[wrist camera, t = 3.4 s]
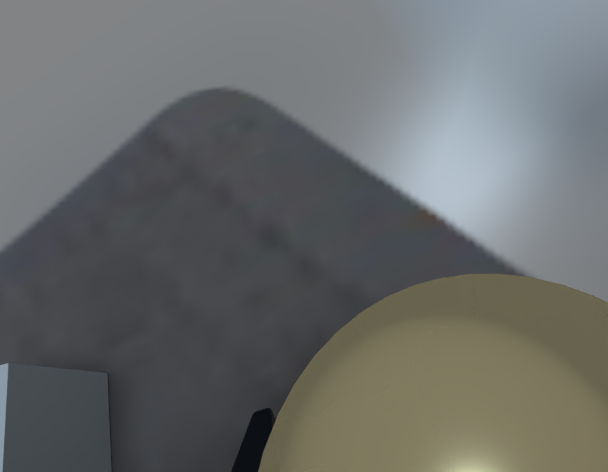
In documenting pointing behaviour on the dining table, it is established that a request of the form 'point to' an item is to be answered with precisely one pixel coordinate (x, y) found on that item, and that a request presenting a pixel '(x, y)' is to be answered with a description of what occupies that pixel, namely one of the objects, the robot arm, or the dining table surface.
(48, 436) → the shaft on bearing block
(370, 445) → the olive pillar candle
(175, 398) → the dining table surface
